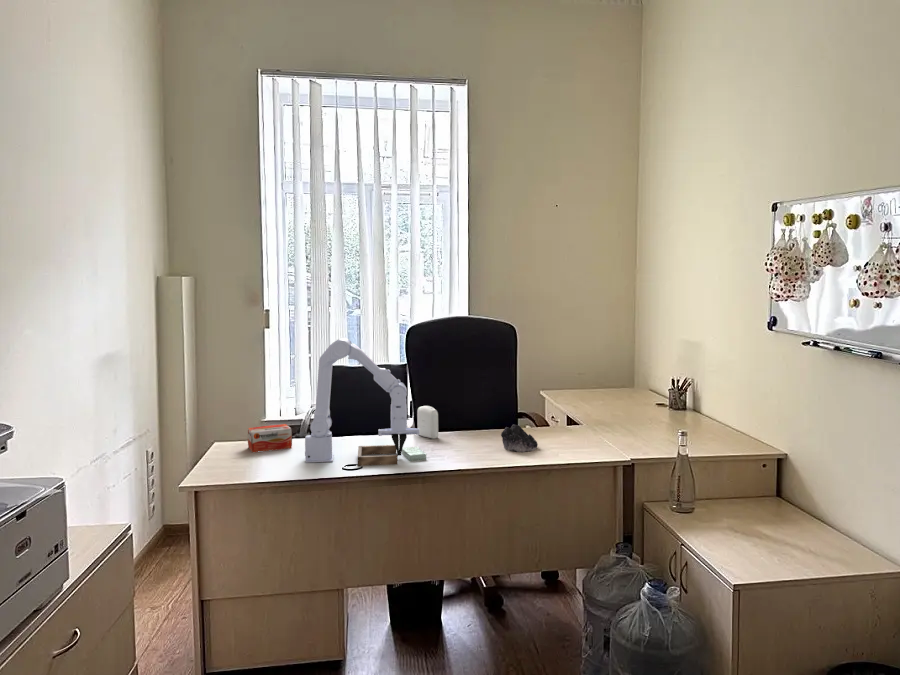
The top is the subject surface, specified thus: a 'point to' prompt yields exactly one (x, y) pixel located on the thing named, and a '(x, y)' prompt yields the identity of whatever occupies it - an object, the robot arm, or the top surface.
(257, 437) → the medicine box
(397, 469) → the top surface
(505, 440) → the crystal cluster
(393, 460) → the walnut box
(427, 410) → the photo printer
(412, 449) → the cover plate
